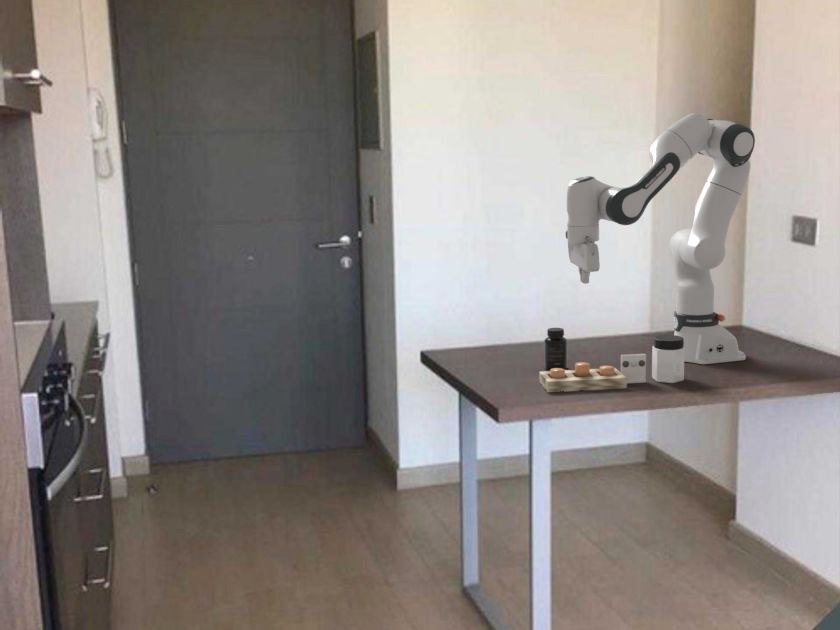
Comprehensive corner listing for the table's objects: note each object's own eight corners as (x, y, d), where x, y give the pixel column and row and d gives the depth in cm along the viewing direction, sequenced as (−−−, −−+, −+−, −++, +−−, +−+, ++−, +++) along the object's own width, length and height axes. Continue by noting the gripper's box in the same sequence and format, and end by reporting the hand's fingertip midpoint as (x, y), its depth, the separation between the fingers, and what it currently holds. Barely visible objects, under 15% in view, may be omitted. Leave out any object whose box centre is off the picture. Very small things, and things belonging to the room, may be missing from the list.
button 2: (611, 375, 278) (612, 365, 278) (615, 379, 274) (616, 368, 274) (597, 376, 278) (598, 366, 277) (601, 380, 274) (601, 369, 273)
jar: (668, 384, 274) (669, 342, 271) (645, 379, 280) (646, 337, 278) (689, 379, 279) (691, 337, 276) (667, 373, 285) (668, 333, 283)
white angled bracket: (642, 379, 280) (643, 352, 278) (646, 382, 277) (646, 354, 275) (618, 380, 279) (618, 353, 277) (621, 383, 276) (621, 355, 275)
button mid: (587, 372, 277) (587, 362, 277) (591, 376, 273) (591, 365, 273) (573, 373, 277) (573, 362, 276) (577, 376, 273) (577, 366, 273)
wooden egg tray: (615, 378, 282) (615, 367, 282) (626, 388, 271) (626, 377, 271) (539, 381, 280) (539, 371, 280) (547, 392, 270) (547, 381, 269)
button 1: (562, 378, 277) (563, 367, 276) (566, 381, 273) (566, 371, 273) (548, 378, 277) (548, 368, 276) (552, 382, 273) (552, 371, 272)
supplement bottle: (543, 365, 298) (543, 326, 296) (566, 365, 298) (566, 326, 296) (545, 371, 291) (545, 331, 289) (568, 371, 291) (568, 331, 289)
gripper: (604, 238, 271) (605, 287, 274) (584, 230, 291) (586, 276, 294) (581, 240, 270) (583, 289, 273) (563, 231, 290) (565, 278, 293)
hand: (584, 282), depth 284 cm, fingers closed
